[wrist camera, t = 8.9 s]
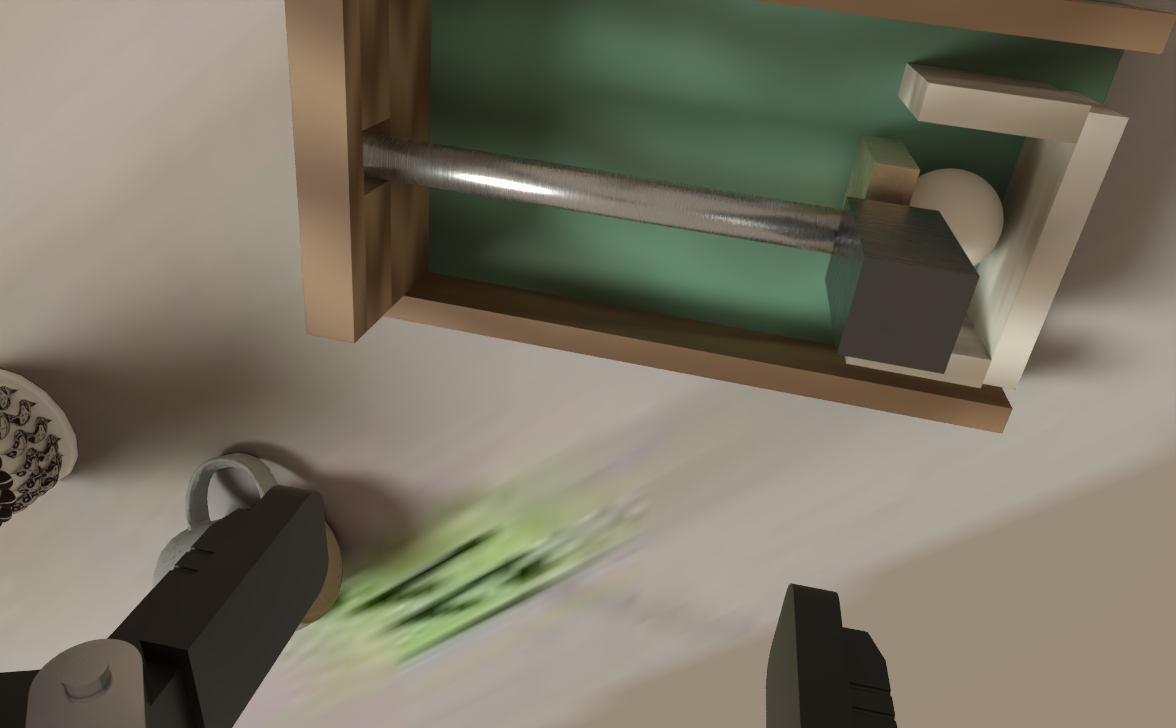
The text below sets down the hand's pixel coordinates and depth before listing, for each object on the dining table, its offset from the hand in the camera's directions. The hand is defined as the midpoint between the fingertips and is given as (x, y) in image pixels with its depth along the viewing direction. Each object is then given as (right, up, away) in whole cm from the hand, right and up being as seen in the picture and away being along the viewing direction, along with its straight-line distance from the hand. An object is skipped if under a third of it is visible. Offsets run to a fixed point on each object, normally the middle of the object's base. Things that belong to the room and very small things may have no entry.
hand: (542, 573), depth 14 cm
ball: (+14, +9, +17) cm, 24 cm away
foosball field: (+6, +12, +22) cm, 26 cm away
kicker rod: (+2, +12, +20) cm, 23 cm away
